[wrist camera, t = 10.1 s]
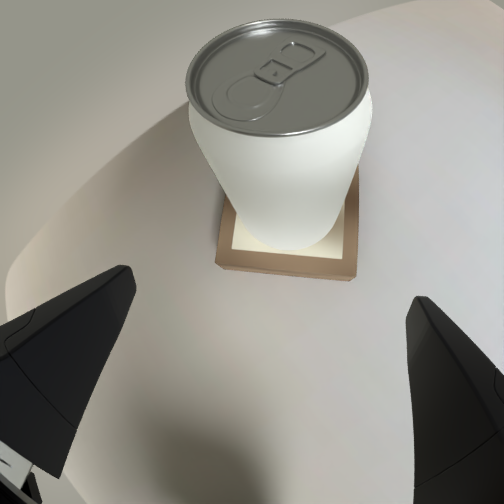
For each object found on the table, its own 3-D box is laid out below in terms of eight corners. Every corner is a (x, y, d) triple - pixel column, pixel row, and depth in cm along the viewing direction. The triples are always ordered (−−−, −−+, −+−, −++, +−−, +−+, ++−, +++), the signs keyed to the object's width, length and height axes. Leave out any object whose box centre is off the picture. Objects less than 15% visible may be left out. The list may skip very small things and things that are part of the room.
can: (220, 211, 20) (134, 92, 8) (281, 144, 20) (262, -1, 9) (296, 273, 18) (297, 199, 7) (357, 197, 19) (414, 63, 7)
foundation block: (349, 281, 20) (356, 276, 18) (223, 269, 22) (214, 262, 19) (352, 166, 22) (358, 149, 19) (240, 158, 23) (234, 141, 21)
